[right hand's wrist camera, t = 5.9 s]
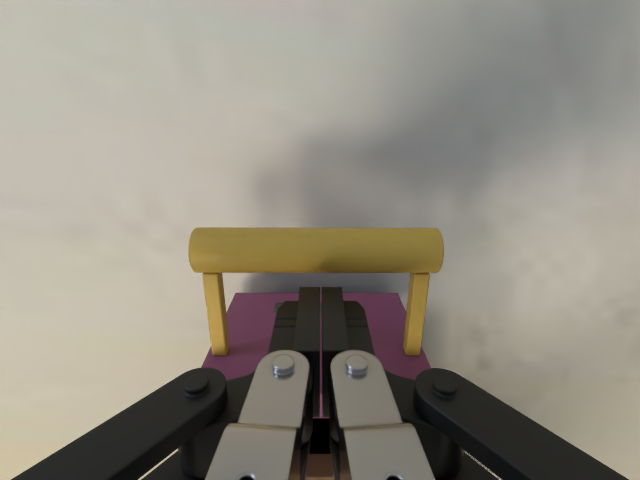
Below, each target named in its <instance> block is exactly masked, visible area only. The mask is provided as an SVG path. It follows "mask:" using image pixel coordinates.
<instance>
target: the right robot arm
mask: <svg viewBox="0 0 640 480" xmlns="http://www.w3.org/2000/svg"><path fill="white" fill-rule="evenodd" d="M313 417H320V287H300V291H299V300H298V301H284V302H283V304H282V305H281V306H280V307H279V308H278V309H277V313H276V318H275V322H274V328H273V332H272V336H271V341H270V345H269V350H268V355H266V356H265V357H263V358H262V359H261V360H260V362H259V364H258V366H257V369H256V371H254V372H253V373H251V374H248V375H246V376H243V377H239V378H235V379H231V380H227V381H226V378H225V376H224V374H223V373H222V372H221V371H219V370H217V369H214V368H206V367H205V368H197V369H193V370H190V371H188V372H185V373H184V374H182V375H180V376H179V377H177V378H175V379H174V380H172V381H170V382H169V383H167V384H166V385H164V386H162V387H161V388H159V389H157V390H156V391H154V392H153V393H151V394H149V395H148V396H146V397H144V398H143V399H141V400H140V401H138V402H136V403H135V404H133V405H131V406H130V407H128V408H127V409H125V410H123V411H122V412H120V413H119V414H117V415H115V416H114V417H112V418H110V419H109V420H107V421H106V422H104V423H102V424H101V425H99V426H97V427H96V428H94V429H93V430H91V431H89V432H88V433H86V434H84V435H83V436H81V437H80V438H78V439H76V440H75V441H73V442H71V443H70V444H68V445H67V446H65V447H63V448H62V449H60V450H58V451H57V452H55V453H54V454H52V455H50V456H49V457H47V458H46V459H44V460H42V461H41V462H39V463H37V464H36V465H34V466H33V467H31V468H29V469H28V470H26V471H24V472H23V473H21V474H20V475H18V476H16V477H15V478H13V479H11V480H138V479H139V478H140V477H141V476H143V475H144V474H145V473H147V472H148V471H149V470H150V469H152V468H153V467H154V466H156V465H157V464H158V463H159V462H161V461H162V460H163V459H164V458H166V457H167V456H168V455H170V454H171V453H172V452H173V451H175V450H176V449H177V448H178V451H177V452H176V453H175V454H173V455H172V456H171V457H169V458H168V459H167V460H166V461H164V462H163V463H162V464H161V465H159V466H158V467H157V468H156V469H154V470H153V471H152V472H150V473H149V474H148V475H147V476H145V477H144V478H143V479H142V480H306V479H307V470H308V461H309V453H310V437H311V434H312V430H313ZM322 417H329V422H330V453H331V462H332V470H333V479H334V480H498V479H497V478H496V477H495V476H493V475H492V474H491V473H490V472H488V471H487V470H486V469H484V468H483V467H482V466H481V465H479V464H478V463H477V462H476V461H474V460H473V459H472V458H471V457H469V456H468V455H467V454H465V453H464V450H465V451H467V452H468V453H469V454H470V455H472V456H473V457H474V458H476V459H477V460H478V461H479V462H481V463H482V464H483V465H484V466H486V467H487V468H488V469H490V470H491V471H492V472H493V473H495V474H496V475H497V476H499V477H500V478H501V479H502V480H629V479H627V478H625V477H624V476H622V475H620V474H619V473H617V472H616V471H614V470H612V469H611V468H609V467H607V466H606V465H604V464H603V463H601V462H599V461H598V460H596V459H595V458H593V457H591V456H590V455H588V454H586V453H585V452H583V451H582V450H580V449H578V448H577V447H575V446H573V445H572V444H570V443H569V442H567V441H565V440H564V439H562V438H560V437H559V436H557V435H556V434H554V433H552V432H551V431H549V430H547V429H546V428H544V427H543V426H541V425H539V424H538V423H536V422H534V421H533V420H531V419H530V418H528V417H526V416H525V415H523V414H522V413H520V412H518V411H517V410H515V409H513V408H512V407H510V406H509V405H507V404H505V403H504V402H502V401H500V400H499V399H497V398H496V397H494V396H492V395H491V394H489V393H487V392H486V391H484V390H483V389H481V388H479V387H478V386H476V385H474V384H473V383H471V382H470V381H468V380H466V379H465V378H463V377H461V376H460V375H458V374H456V373H454V372H452V371H449V370H445V369H439V368H431V369H427V370H424V371H422V372H420V373H419V374H418V375H417V377H416V379H415V380H412V379H408V378H404V377H400V376H397V375H394V374H392V373H390V372H388V371H387V370H385V369H384V368H383V366H382V364H381V362H380V360H379V359H378V358H377V357H375V353H374V349H373V345H372V340H371V336H370V331H369V327H368V322H367V320H366V314H365V309H364V308H363V307H362V306H361V305H360V304H359V303H358V302H357V301H343V293H342V287H322Z"/></svg>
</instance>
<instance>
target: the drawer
mask: <svg viewBox="0 0 640 480" xmlns="http://www.w3.org/2000/svg"><path fill="white" fill-rule="evenodd" d="M443 256H444V246H443V239H442V236H441V233H440V231H439V230H438V229H436V228H195V229H194V230H193V231H192V233H191V236H190V240H189V261H190V265H191V268H192V270H193V271H194V272H197V273H203V282H204V290H205V298H206V306H207V314H208V322H209V330H210V338H211V348H210V350H209V352H208V354H207V356H206V359H205V361H204V363H203V365H202V367H201V368H205V367H206V368H214V369H217V370H219V371H221V372H222V373H223V374H224V376H225V378H226V381H227V380H231V379H235V378H239V377H243V376H246V375H248V374H251V373H253V372H254V371H256V369H257V366H258V364H259V362H260V360H261V359H262V358H263V357H265V356H266V355H268V350H269V345H270V341H271V336H272V332H273V328H274V322H275V318H276V313H277V309H278V308H279V307H280V306H281V305H282V304H283V302H284V301H298V300H299V293H235V296H234V298H233V300H232V302H231V304H230V306H229V309H228V311H227V313H226V307H225V297H224V288H223V278H222V273H411V275H410V284H409V294H408V303H407V313H406V311H405V309H404V307H403V304H402V302H401V300H400V298H399V296H398V294H397V293H343V301H357V302H358V303H359V304H360V305H361V306H362V307H363V308H364V309H365V314H366V320H367V322H368V327H369V331H370V336H371V340H372V345H373V349H374V353H375V357H377V358H378V359H379V360H380V362H381V364H382V366H383V368H384V369H385V370H387V371H388V372H390V373H392V374H394V375H397V376H400V377H404V378H408V379H412V380H415V379H416V377H417V375H418V374H419V373H420V372H422V371H424V370H427V369H431V367H430V365H429V362H428V360H427V358H426V356H425V353H424V351H423V349H422V347H421V341H422V333H423V325H424V317H425V309H426V301H427V293H428V285H429V277H430V274H429V273H437V272H438V271H439V270H440V269H441V266H442V263H443ZM309 454H331V453H330V422H329V417H322V293H320V417H313V430H312V434H311V437H310V453H309Z"/></svg>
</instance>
